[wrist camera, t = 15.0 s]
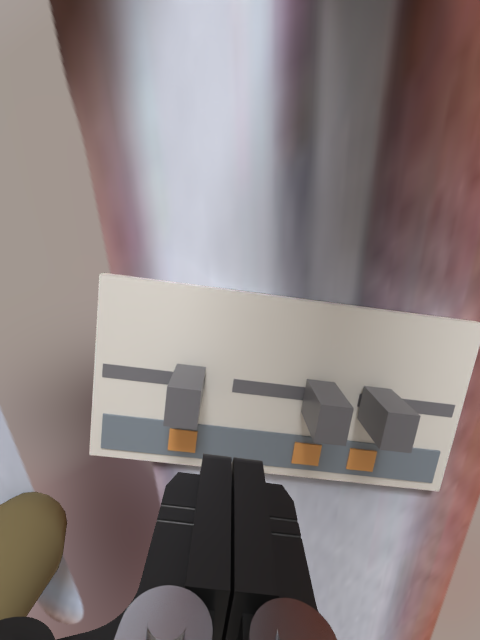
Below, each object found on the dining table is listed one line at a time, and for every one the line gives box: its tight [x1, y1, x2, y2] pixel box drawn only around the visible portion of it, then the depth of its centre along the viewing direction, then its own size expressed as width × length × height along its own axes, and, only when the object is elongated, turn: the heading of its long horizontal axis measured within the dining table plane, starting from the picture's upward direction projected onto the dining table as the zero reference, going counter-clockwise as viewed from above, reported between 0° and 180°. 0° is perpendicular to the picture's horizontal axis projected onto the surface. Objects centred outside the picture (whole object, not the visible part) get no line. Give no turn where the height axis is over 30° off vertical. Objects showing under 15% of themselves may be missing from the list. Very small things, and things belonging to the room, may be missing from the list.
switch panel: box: [89, 273, 480, 491], centre depth 32 cm, size 16×32×2 cm, turn 82°
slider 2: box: [357, 386, 421, 453], centre depth 29 cm, size 3×2×5 cm
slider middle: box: [301, 379, 354, 446], centre depth 29 cm, size 3×2×5 cm
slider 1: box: [163, 364, 206, 430], centre depth 29 cm, size 3×2×5 cm
